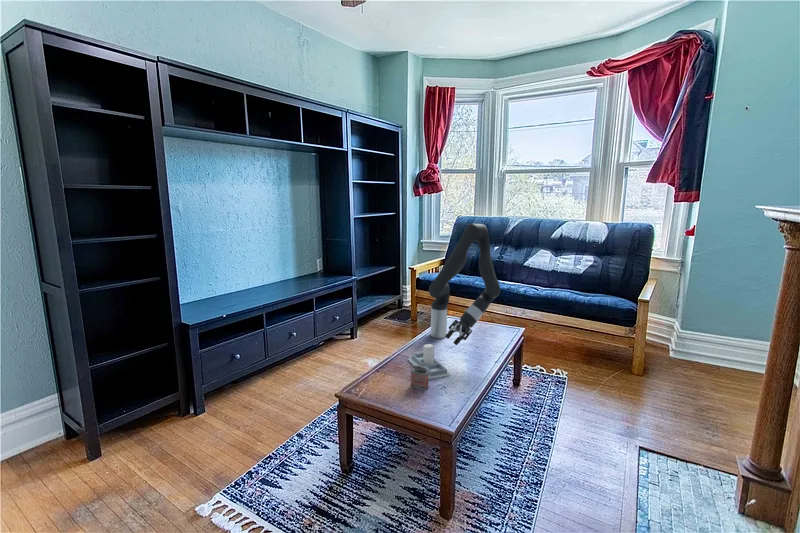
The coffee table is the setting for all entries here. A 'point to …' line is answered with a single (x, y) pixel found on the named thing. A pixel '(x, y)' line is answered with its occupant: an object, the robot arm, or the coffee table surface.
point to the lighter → (419, 377)
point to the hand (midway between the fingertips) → (450, 340)
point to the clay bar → (428, 354)
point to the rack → (429, 366)
